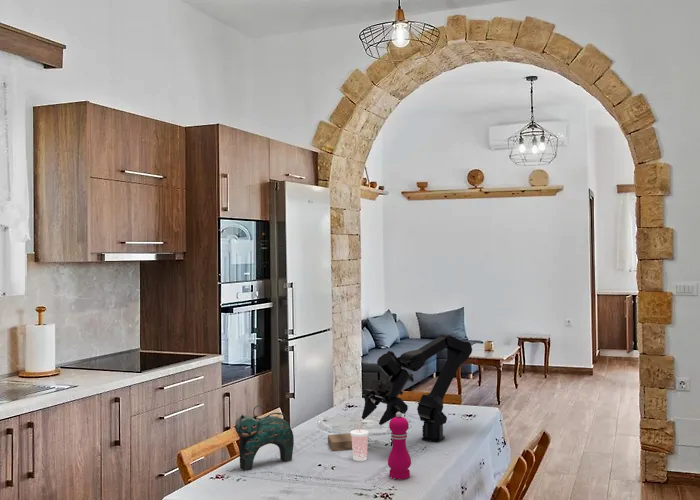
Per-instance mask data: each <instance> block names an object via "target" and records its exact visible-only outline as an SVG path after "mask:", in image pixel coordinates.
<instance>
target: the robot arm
mask: <svg viewBox="0 0 700 500" xmlns="http://www.w3.org/2000/svg"><path fill="white" fill-rule="evenodd" d="M472 347H473V346H472V344H471V342H470V341H467V340H466V341H465V340H461V339H458V338H456V337H454V336H452V335H449V334H445V333H444V334H443V333H442V334H439V335H438V337H436V338H434V339H433V340H430V341H429V342H428V343H426V344H424V345H423V346H421V347H419V348H417V349H414V350H409V351H406V352H403V353H402V354H401V355H400V356H398V357H397V356H396V354H395V352H393V351H392V350H388V351H387V352H385V353H384V354H382V355H381V356H379V357H378V359H377V361H376V365H378V367H379V368H380V370H381V371H383V372H384V374H385V375H386V376H388V377H389V379H388V380H387V379H383V380H379V379H375V378H371V379H370V382H369V386H368V388H369V389H368V388H366V389H364V390H363V391H362V393H361V395H362V398H363V399H364V406H363V410H362V414H361V419H362V420H365V419H367V418H368V417H369V416H370V414H372V413H373V412H374V411H375V410H376V409H377V408H378V406H379V404H380V403H381V404H385V405H386V409H385V411H384V412H383V414H382V416H381V418H380V420H379V422H378V424H379V426H383V425H384V424H386V423H387V422H390V420H391V419H392V418H394V417H396V413H397V412H400V413H401V414H402V415H406V413H407V411H408V410H409V408H408V407H409V405H408V404H406V403H405V401H404V400H403V399H402V398H401V397H399V395H400V396H402V395H403V394H404V392H403V391H402V390H403V389H404V387H405V386H406V384H407V383H408V382H411V383H414V381H415V380H414V374H413V373H411V372H418V371H419V370H420V369H422V367H423V366H425V364H426V361H427V360H429V359H430V358H432V357H434V356H435V355H437V354H438V353H440V352H442V351H443V350H445V349H446V358H447V359H446V361H445V363H444V365H443V367H442V369H441V370H440V373H439V375H438V377H437V378H436V381H435V383H434V384H433V387H432V389H431V390H430V393H428V394H422V395H421V398H420V400H419V402H417V408H416V410H417V414H418V417H419V419H420V421H421V422H423V425H422V437H421V440H422V441H429V442H434V443H439V442H440V441H442V440H444V439H445V438H446V436H445V435H444V425H445V424H446V423H447V420H448V417H447V415H445V413H444V411H443V409H444V398H445V396H446V394H447V391H448V389H449V388H450V385H451V383H452V381H453V380H454V377H455V376H456V374H457V372H458V370H459V368H460V366H461V365H462V364H464V363H465V362H466V361H467V360H468V359H469V358H470V356H471V354H472V352H473V348H472ZM409 371H410V372H409ZM372 389H373V390H372Z"/></svg>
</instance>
